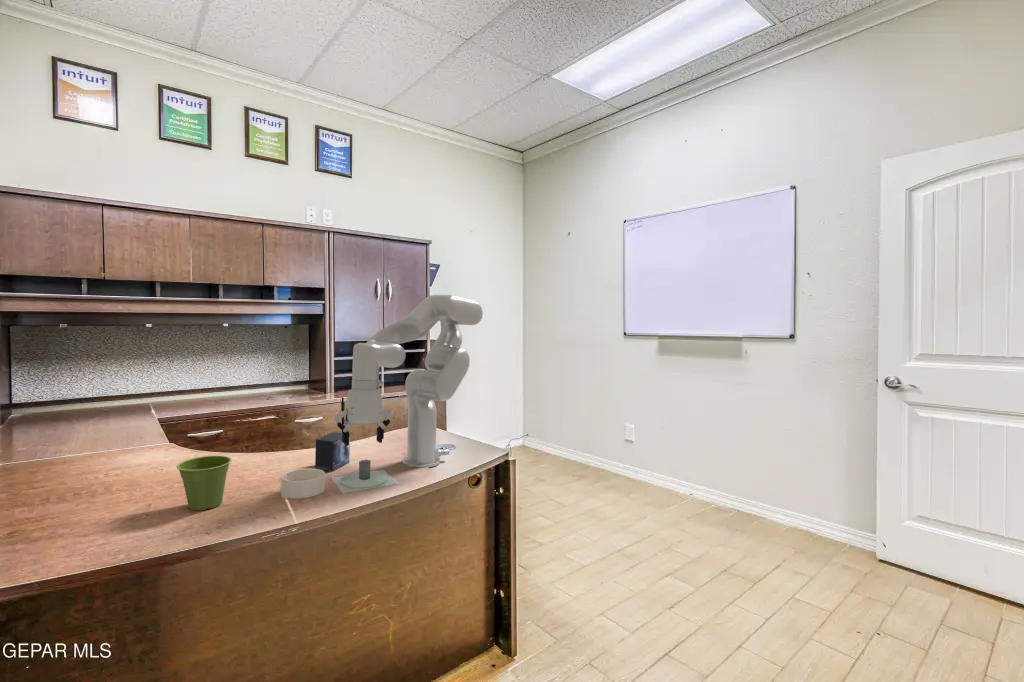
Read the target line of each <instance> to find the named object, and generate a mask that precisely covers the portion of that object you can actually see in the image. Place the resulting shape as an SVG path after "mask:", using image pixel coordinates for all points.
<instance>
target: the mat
mask: <svg viewBox="0 0 1024 682" xmlns="http://www.w3.org/2000/svg"><path fill="white" fill-rule="evenodd" d="M376 471H377V472H382V473H384V474H386V475H387V481H386V482H385V483H384V484H382V485H379V486H376V487H371V488H360V489H358V488H349V487H346V486H344V485H342V483H341V479H342V478H343V477H344V476H345V475H342V476H334V477H330V479H331V480H332V482H333V483H334V485H336V487H337V488H338V489H339V490H340V492H341V494H346V493H352V492H359V491H365V490H371V489H376V488H381V487H387V486H388V487H389V486H395V485H399V482H398V481H397V480H396V479H394V478H393V477H392V476H391V475H390V474H389V473H388V472H386V470H384V469H381V470H376Z"/></svg>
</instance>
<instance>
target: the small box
mask: <svg viewBox="0 0 1024 682" xmlns="http://www.w3.org/2000/svg"><path fill="white" fill-rule="evenodd" d="M350 445H351V434H350V433H349V445H348V446H346V445H345V444H344V443H343V442H342V432H339V431H337V432H336V431H333V432H331V433H328V434H325V435H323V436H320V437H318V438H316V439H315V452H314V453H315V457H314V458H315V461H314V469H319V470H323V471H324V473H326V472H327V473H333V472H335V471H337V470H339V469H341V468H343V467H344V466H346V465H348V464H349V463H350V454H351V453H350V449H351V448H350Z"/></svg>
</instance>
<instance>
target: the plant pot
mask: <svg viewBox="0 0 1024 682" xmlns="http://www.w3.org/2000/svg"><path fill="white" fill-rule="evenodd" d="M232 461H233V459H232V458H231V457H229V456H227V455H226V456H225V455H204V456H198V457H193V458H189V459H187V460H184V461H181V462H179V463H177V464H176V469H177V470H178V471H179V474H180V477H181V479H182V482H183V488H184V493H185V497H186V500H187V506H188V508H189V509H190V510H191V511H198V512H199V511H206V510H207V509H215V508H216V507H218V506H220V505H222V503H223V500H224V499H223V497H224V493H225V486H226V481H227V480H226V479H227V474H228V473H227V472H228V470H229V467H230V464H231V463H232Z"/></svg>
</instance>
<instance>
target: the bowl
mask: <svg viewBox="0 0 1024 682" xmlns="http://www.w3.org/2000/svg"><path fill="white" fill-rule="evenodd" d="M325 490H326V472H325V471H323V470H319V469H315V468H308V467H307V468H299V469H298V468H297V469H293V470H290V471H287V472H284V473H283V474H282V475H280V496H281V499H285V500H289V499H306V498H311V497H315V496H317V495H320V494H322V493H323V492H324V491H325Z"/></svg>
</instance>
